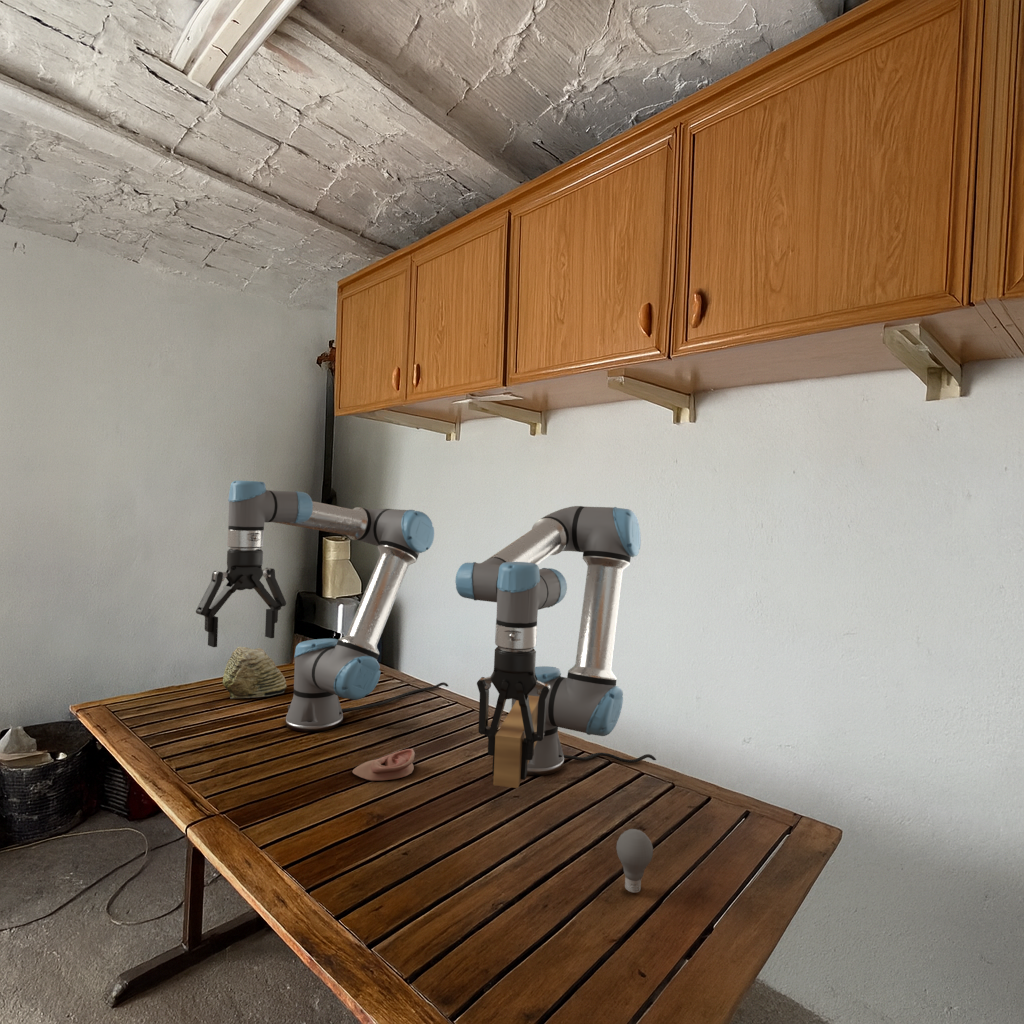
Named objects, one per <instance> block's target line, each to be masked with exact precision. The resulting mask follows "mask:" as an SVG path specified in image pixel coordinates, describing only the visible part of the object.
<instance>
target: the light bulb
mask: <svg viewBox="0 0 1024 1024" xmlns="http://www.w3.org/2000/svg"><path fill="white" fill-rule="evenodd" d="M615 849H616V854H617V857H618V859H619V861H620V863H621V865H622V867H623V873H624V874H623V875H624V876H625V878H624V888H625V890H627V891H628V892H630V893H634V894H635V893H639V892H640V891H641V889H642V887H641V886H642V879H643V877H644V875H645V871H646V868H647V867H648V866H649V864H650V863H651V861H652V859H653V855H654V847H653V843H652V841H651V838H649V836H648V835H647V834H646V833H645V832H643V831H642V830H641V829H636V828H629V829H627V830H625V831H623V832H622V833H621V834H620V835H619V837H618V839H617V841H616V847H615Z"/></svg>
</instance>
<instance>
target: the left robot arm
mask: <svg viewBox="0 0 1024 1024" xmlns="http://www.w3.org/2000/svg"><path fill="white" fill-rule="evenodd" d="M229 486H230V487H229V492H228V527H227V545H226V546H227V547H228V548H229V549H227V551H226V571H219V570H213V571H212V572H211V579H210V582H209V583H208V586H207V588H206V590H205V592H204V594H203V596H202V598H201V599H200V602H199V604H198V606H197V607H196V609H195V613H196V614H197V615H200V616H203V617H204V631H205V632H206V633H207V646H209V647H211V648H218V632H219V631H218V630H219V617H218V616H216V614H218V613H219V611H220V609H221V608H222V607H223V606H224V605H225V604H226V602H227V601H228V600H229V599H230V597H231V596H232V595H233V594H234V593H235V592H237V591H244V590H254V591H255V592H256V593H257V594H258V595H259V597H260V598H261V600H263V601H264V603H265V604H266V605H267V607H268V608H266V609H265V625H264V626H265V627H264V629H265V630H264V637H265V638H268V639H275V627H276V624H277V623H278V621H279V611H280V610H281V609H282V607H286V606H287V601H286V599H285V596H284V594H283V591H282V590H281V587H280V585H279V583H278V579H276V570H275V568H272V567H265V568H264V569H263V568H262V567H263V564H264V551H263V550H262V548H263V547H264V533H265V532H264V531H265V523H274V524H280V525H287V526H291V527H292V526H293V527H298V528H304V529H311V530H315V531H321V532H327V533H332V534H339V535H345V536H347V537H348V538H349V539H350V540H353V541H359V542H363V543H367V544H370V545H373V546H375V547H377V549H378V550H377V551H378V552H379V557H378V559H377V561H376V564H375V566H374V569H373V571H372V573H371V575H370V578H369V581H368V582H367V585H366V588H365V590H364V593H363V595H362V596H361V599H360V602H359V604H358V607H357V608H356V612H355V614H354V617H353V618H352V621H351V624H350V626H349V629H348V631H347V634H346V635H344V636H341V637H340V638H338V639H337V638H317V639H308V640H304V641H300V642H299V643H297V645H296V646H295V650H294V655H293V657H294V672H293V673H294V674H293V695H292V696H293V697H292V699H291V702H290V704H288V705H287V710H288V711H287V713H286V715H285V726H286V728H287V729H289V730H291V731H294V732H295V731H296V732H301V733H316V732H325V731H329V730H332V729H335V728H337V727H339V726H340V725H342V723H343V722H344V714H343V713H344V712H345V713H346V712H352V711H360V710H365V709H371V708H375V707H379V706H383V705H386V704H390V703H391V702H393V701H395V700H398V699H401V698H403V697H406V696H409V695H412V694H415V693H420V692H424V691H430V690H435V689H437V688H439V687H441V686H445V687H449V684H448V683H447V682H440V683H437V684H436V685H432V686H433V687H432V686H428V687H427V686H426V687H422V688H417V689H413V690H409V691H407V692H403V693H401V694H399V695H395V696H393V697H391V698H389V699H385V700H383V701H379V702H375V703H371V704H366V705H360V706H353V707H346V708H342V706H341V702H340V699H339V698H342V699H347V700H353V701H357V700H361V699H364V697H366V696H369V695H370V694H371V693H372V692H373V691H374V690H375V688H376V687H377V685H378V684H379V681H380V677H381V670H380V668H381V665H380V663H379V661H378V659H379V656H380V651H379V649H378V644H379V642H380V638H381V637H382V634H383V632H384V629H385V626H386V624H387V621H388V619H389V616H390V614H391V611H392V609H393V606H394V604H395V601H396V599H397V597H398V594H399V591H400V589H401V586H402V584H403V581H404V579H405V577H406V574H407V572H408V569H409V566H411V565H412V564H415V563H417V560H418V558H419V556H420V554H422V553H425V552H426V551H428V550H429V549H431V547H432V545H433V543H434V539H435V528H434V526H433V521H432V519H431V517H430V516H429V515H427V514H426V513H424V512H423V511H420V510H415V509H397V508H395V509H394V508H367V507H366V508H365V507H359V506H356V507H354V508H349V507H342V506H337V505H334V504H328V503H323V502H320V501H319V502H318V501H314V500H313V499H312V497H311V496H310V495H309V493H308V492H305V491H297V490H269V489H267V488H266V483H265V482H264V481H257V480H256V481H255V480H233V481H232V482H231V483H230V485H229ZM262 577H263V578H265V582H266V583H267V586H268V588H269V590H270V592H269V591H268V590H267V589H266V588H265V585H264V583H262V581H261V579H262ZM225 579H226V580H227V582H226V583H225V584H224V586H223V587H222V589H221V590H220V587H221V585H222V583H223V582H224V581H225ZM219 590H220V592H219ZM218 592H219V593H218ZM270 593H271V594H270ZM217 594H218V595H217Z"/></svg>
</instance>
